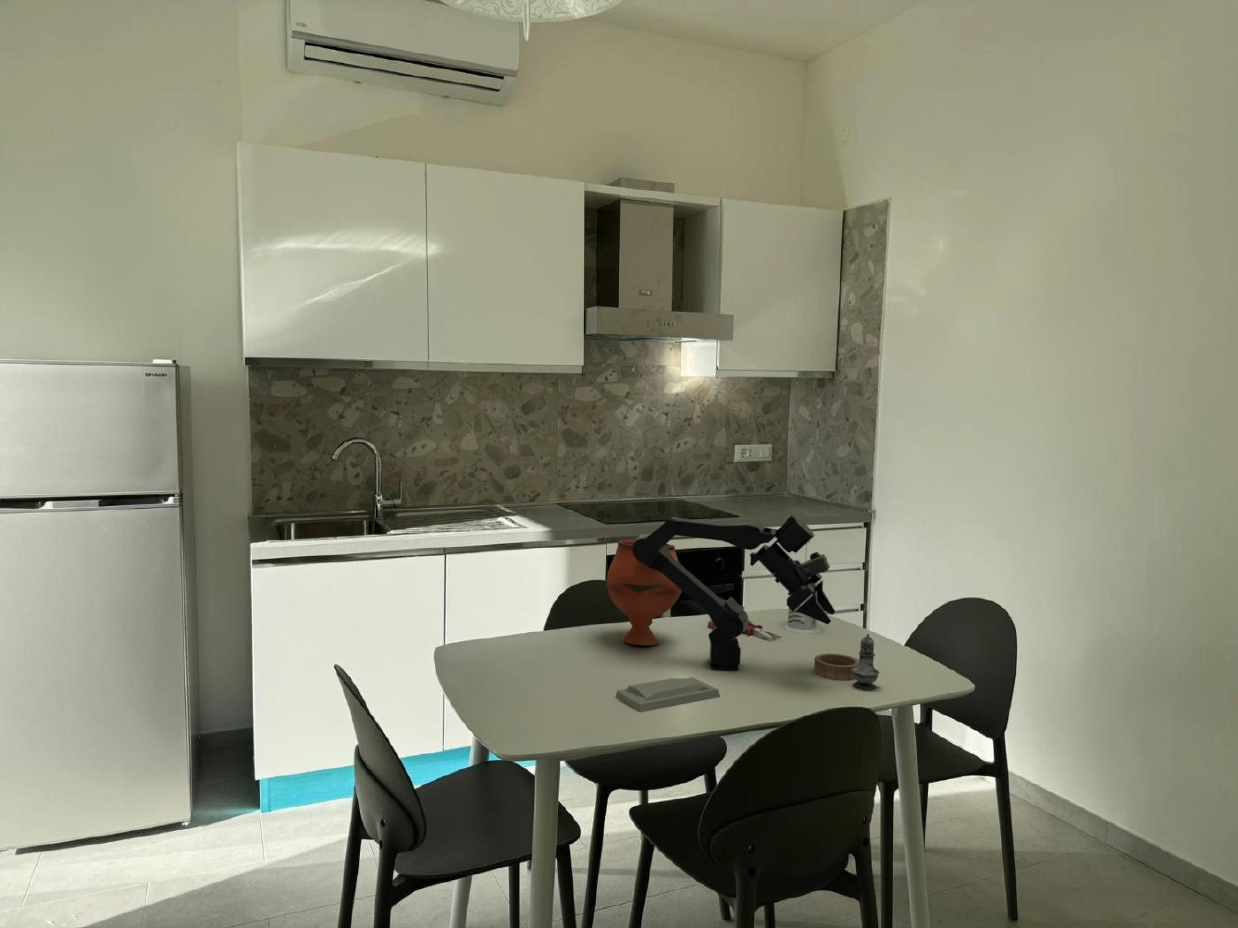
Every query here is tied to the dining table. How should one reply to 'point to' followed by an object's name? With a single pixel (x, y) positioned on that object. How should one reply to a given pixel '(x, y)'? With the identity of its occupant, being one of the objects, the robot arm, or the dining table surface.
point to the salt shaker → (865, 666)
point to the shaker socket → (835, 666)
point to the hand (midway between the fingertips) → (831, 617)
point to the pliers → (753, 631)
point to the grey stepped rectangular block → (666, 693)
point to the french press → (801, 620)
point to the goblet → (639, 592)
